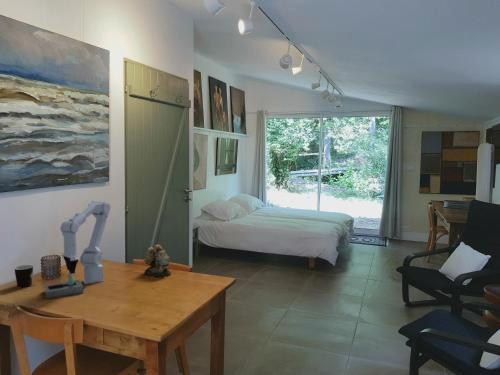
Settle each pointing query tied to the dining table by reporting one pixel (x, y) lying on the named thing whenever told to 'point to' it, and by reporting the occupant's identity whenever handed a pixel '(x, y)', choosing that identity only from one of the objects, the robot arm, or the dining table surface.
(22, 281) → the coffee mug
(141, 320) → the dining table surface
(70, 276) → the peg
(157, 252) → the grey lumpy cluster
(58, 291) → the keyhole plate
